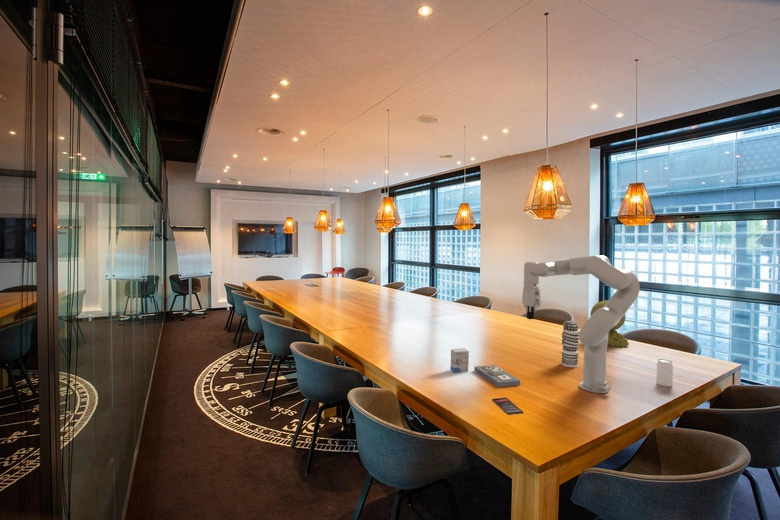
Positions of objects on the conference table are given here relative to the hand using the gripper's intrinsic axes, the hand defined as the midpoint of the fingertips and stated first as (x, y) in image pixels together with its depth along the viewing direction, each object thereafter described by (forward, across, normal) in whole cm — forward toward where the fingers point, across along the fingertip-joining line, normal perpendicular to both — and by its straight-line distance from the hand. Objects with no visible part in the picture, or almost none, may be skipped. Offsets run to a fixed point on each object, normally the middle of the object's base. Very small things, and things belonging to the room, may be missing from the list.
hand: (530, 318), depth 203 cm
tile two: (+27, -3, +22) cm, 35 cm away
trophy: (+29, +36, -89) cm, 101 cm away
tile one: (+29, -11, +22) cm, 38 cm away
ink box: (+29, +11, +36) cm, 48 cm away
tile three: (+29, +5, +22) cm, 36 cm away
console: (+29, -3, +22) cm, 37 cm away
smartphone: (+30, -34, +36) cm, 58 cm away
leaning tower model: (+29, +4, -30) cm, 42 cm away
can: (+29, -33, -54) cm, 70 cm away
